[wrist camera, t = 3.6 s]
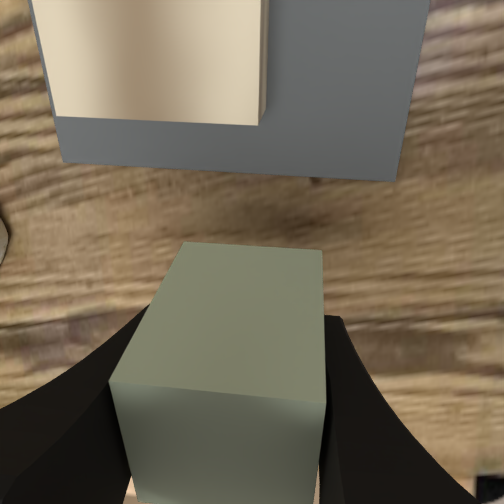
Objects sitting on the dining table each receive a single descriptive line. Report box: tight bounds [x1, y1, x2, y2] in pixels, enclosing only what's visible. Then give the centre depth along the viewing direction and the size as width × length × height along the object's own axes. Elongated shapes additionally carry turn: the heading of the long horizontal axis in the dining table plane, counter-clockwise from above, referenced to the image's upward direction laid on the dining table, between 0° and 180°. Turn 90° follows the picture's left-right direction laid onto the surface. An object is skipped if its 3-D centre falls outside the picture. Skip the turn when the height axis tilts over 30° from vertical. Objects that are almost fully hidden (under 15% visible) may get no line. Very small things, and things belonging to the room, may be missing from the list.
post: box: [109, 242, 326, 504], centre depth 12 cm, size 4×4×6 cm
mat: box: [28, 0, 430, 182], centre depth 17 cm, size 16×14×1 cm
